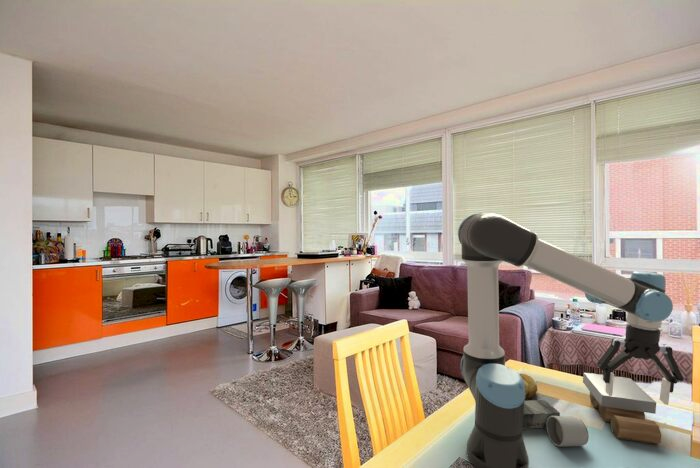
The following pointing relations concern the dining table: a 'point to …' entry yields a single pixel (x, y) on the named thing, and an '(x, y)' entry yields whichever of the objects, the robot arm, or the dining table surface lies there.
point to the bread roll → (529, 386)
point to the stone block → (537, 413)
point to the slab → (619, 394)
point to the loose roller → (635, 429)
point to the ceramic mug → (567, 431)
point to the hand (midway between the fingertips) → (635, 397)
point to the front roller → (619, 413)
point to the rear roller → (594, 401)
